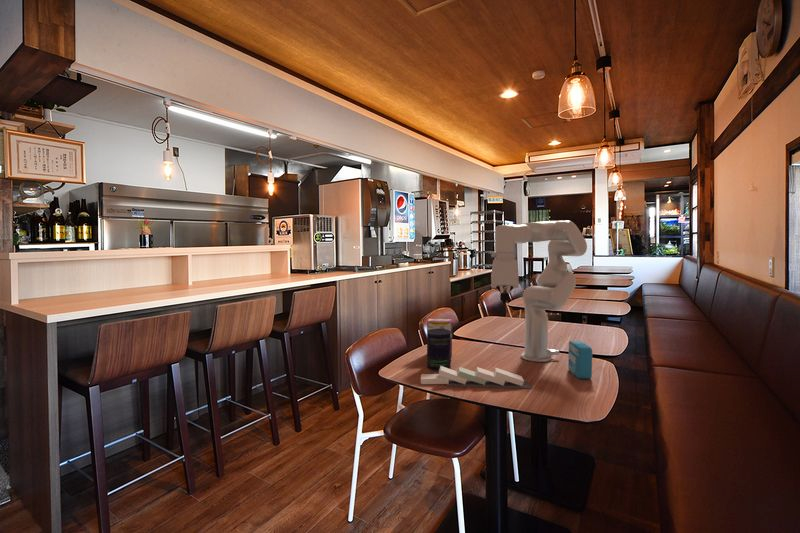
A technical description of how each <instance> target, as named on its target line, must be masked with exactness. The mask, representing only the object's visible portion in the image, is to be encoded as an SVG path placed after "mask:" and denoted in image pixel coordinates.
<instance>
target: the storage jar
mask: <svg viewBox="0 0 800 533" xmlns="http://www.w3.org/2000/svg"><path fill="white" fill-rule="evenodd" d="M450 334H451V331H449V330H446V329H431V330H428V331H427V330H426V346H427V345H428V354H427V353H426V363H427V366H426V368H427V369H428V370H430V371H432V372H439V369H440V366H443V367H446V368H449V369H451V370H452V368H451V367H452V365H451V364H452V357H451V354H450V345H451V335H450Z"/></svg>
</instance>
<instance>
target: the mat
mask: <svg viewBox="0 0 800 533" xmlns="http://www.w3.org/2000/svg"><path fill="white" fill-rule="evenodd" d="M523 380H524V383H523V385H522V386H520V385H517V384H514V383H511V382H508V381H505V383H504V386H503V385H500V384H497V383H494V382H491V381H488V380H486V383H485V385H483V384H480V383H477V382H474V381H471V380H468V379H467V381H466V384H462V383H459V382H456V381H454V380H451V379H449V384H446V386H447V387H457V386H458V387H459V388H460V387H462V388H463V387H465V388H495V389H521V390H522V389H523V390H524V389H527V390H528V389H529V390H532V389H533V387H532V385H531V383H530V381H529V380H525V379H523Z"/></svg>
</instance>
